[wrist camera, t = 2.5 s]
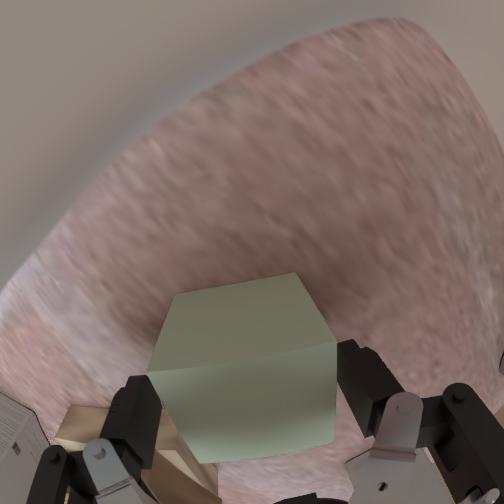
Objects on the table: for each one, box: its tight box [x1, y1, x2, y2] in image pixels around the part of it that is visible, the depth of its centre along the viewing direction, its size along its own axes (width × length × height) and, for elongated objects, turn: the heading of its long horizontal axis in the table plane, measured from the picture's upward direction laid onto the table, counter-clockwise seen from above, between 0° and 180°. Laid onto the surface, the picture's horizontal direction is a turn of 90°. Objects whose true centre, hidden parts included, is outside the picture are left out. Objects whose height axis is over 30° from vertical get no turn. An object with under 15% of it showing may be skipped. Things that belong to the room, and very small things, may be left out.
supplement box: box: [346, 448, 453, 504], centre depth 15 cm, size 7×7×13 cm
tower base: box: [55, 405, 218, 497], centre depth 16 cm, size 10×10×4 cm
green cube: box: [146, 272, 337, 464], centre depth 12 cm, size 6×6×6 cm
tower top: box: [65, 449, 222, 504], centre depth 12 cm, size 9×9×4 cm
